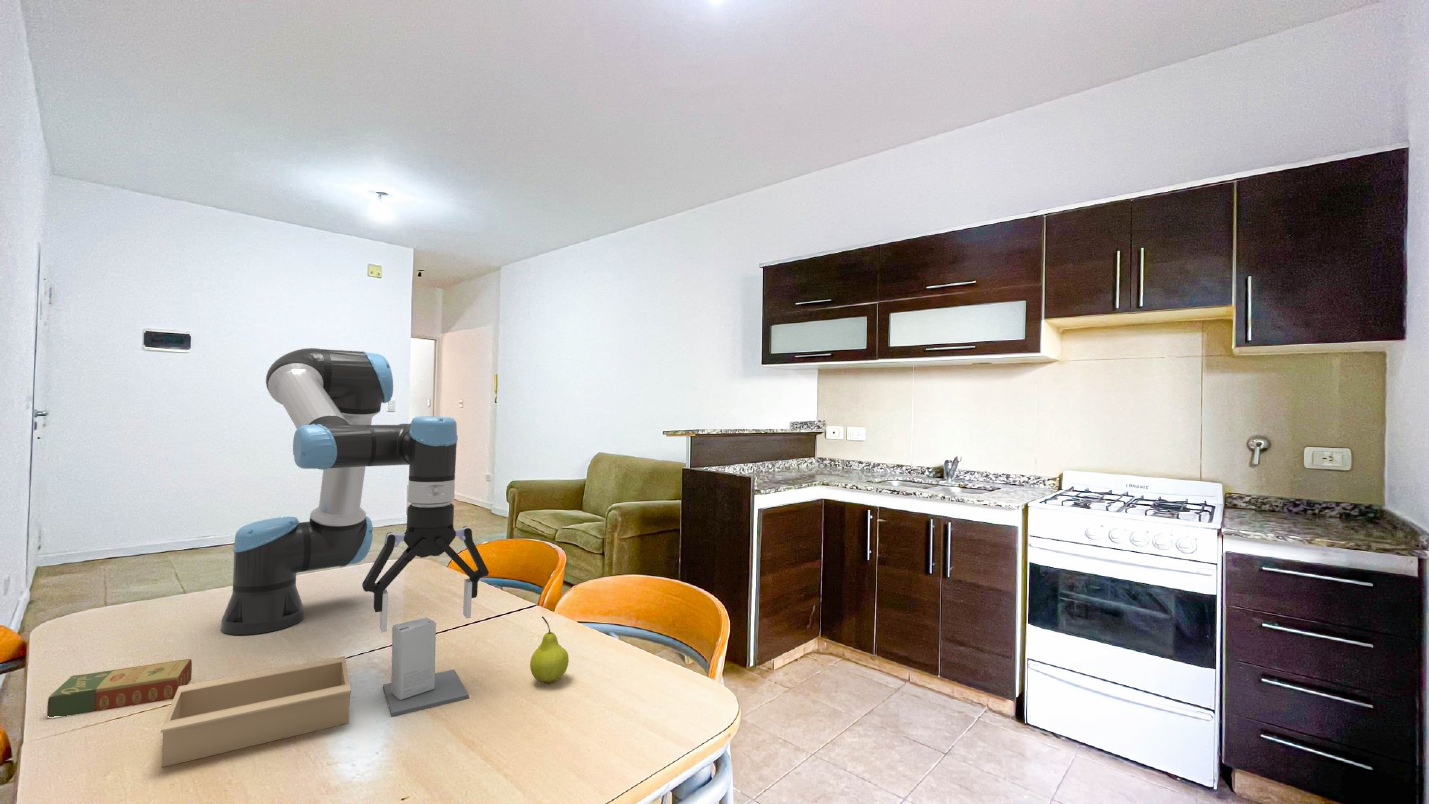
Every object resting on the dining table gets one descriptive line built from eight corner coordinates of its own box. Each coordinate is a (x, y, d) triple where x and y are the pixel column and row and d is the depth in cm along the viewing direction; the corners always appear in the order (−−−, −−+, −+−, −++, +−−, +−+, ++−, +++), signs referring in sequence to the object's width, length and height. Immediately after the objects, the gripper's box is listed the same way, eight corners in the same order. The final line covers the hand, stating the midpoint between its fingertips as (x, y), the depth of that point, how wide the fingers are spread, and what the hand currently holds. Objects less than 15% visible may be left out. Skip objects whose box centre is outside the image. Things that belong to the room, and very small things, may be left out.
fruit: (575, 677, 114) (576, 613, 114) (554, 692, 108) (556, 625, 108) (544, 671, 116) (546, 608, 117) (522, 686, 110) (523, 620, 110)
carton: (178, 700, 102) (178, 675, 102) (45, 722, 95) (45, 695, 95) (191, 680, 110) (192, 656, 110) (69, 699, 102) (69, 674, 102)
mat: (383, 687, 108) (383, 684, 108) (454, 672, 115) (454, 669, 115) (391, 716, 98) (391, 713, 98) (468, 698, 105) (469, 694, 105)
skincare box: (425, 682, 109) (427, 615, 109) (435, 690, 106) (437, 621, 106) (388, 693, 105) (391, 623, 105) (398, 702, 102) (401, 630, 102)
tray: (177, 724, 94) (178, 686, 94) (343, 690, 107) (344, 656, 107) (158, 774, 82) (160, 730, 82) (349, 728, 94) (350, 690, 94)
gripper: (351, 512, 97) (345, 643, 97) (508, 502, 111) (503, 617, 111) (347, 504, 103) (343, 628, 103) (497, 496, 117) (493, 604, 117)
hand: (426, 622), depth 107 cm, fingers open, 13 cm apart
